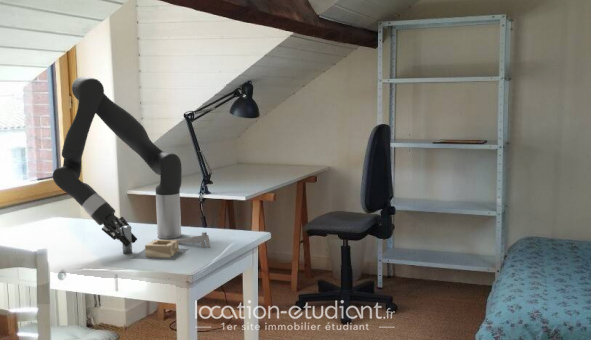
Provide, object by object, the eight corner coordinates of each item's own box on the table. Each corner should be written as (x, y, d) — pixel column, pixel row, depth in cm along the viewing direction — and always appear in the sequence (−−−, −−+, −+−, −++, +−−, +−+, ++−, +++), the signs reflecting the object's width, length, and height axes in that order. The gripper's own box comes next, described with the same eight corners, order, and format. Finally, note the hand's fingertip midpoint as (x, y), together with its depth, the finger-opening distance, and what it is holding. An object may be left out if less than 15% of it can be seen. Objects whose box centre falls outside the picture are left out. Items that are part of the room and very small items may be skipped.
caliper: (210, 249, 238) (209, 232, 237) (208, 249, 237) (207, 232, 236) (165, 243, 247) (164, 227, 246) (163, 244, 246) (162, 228, 245)
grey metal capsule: (125, 252, 233) (124, 225, 232) (133, 253, 232) (132, 225, 231) (121, 255, 230) (120, 227, 229) (130, 255, 229) (128, 227, 228)
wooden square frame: (155, 250, 234) (154, 239, 233) (178, 251, 232) (178, 240, 232) (145, 256, 225) (145, 245, 225) (169, 257, 224) (169, 246, 223)
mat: (147, 248, 238) (147, 247, 238) (189, 250, 236) (189, 248, 235) (130, 259, 224) (129, 258, 224) (174, 261, 221) (174, 259, 221)
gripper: (95, 205, 223) (130, 240, 222) (114, 198, 237) (147, 231, 236) (82, 220, 225) (116, 255, 224) (101, 212, 239) (133, 245, 238)
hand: (132, 242), depth 230 cm, fingers open, 5 cm apart
